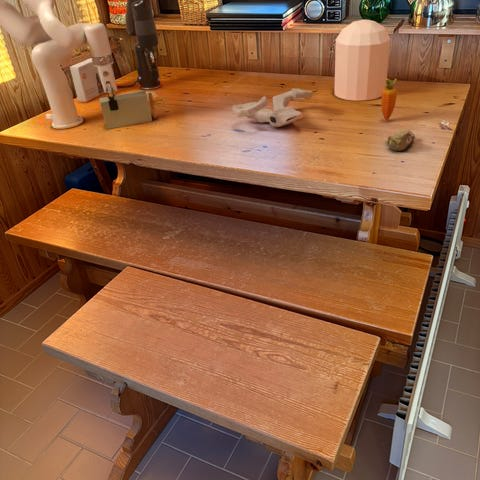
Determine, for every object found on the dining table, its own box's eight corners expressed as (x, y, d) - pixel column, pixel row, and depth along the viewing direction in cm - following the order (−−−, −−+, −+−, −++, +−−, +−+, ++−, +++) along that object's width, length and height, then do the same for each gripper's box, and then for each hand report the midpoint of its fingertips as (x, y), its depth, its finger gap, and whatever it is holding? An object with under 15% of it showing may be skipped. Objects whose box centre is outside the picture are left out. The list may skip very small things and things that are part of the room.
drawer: (167, 111, 191) (164, 90, 186) (169, 115, 188) (166, 93, 183) (113, 121, 187) (108, 99, 182) (114, 125, 183) (108, 103, 178)
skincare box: (87, 102, 214) (77, 67, 204) (78, 102, 215) (68, 66, 206) (113, 88, 229) (105, 54, 220) (104, 88, 231) (96, 54, 222)
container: (354, 104, 182) (359, 27, 166) (324, 91, 198) (325, 20, 182) (396, 93, 189) (404, 18, 173) (363, 81, 205) (368, 12, 189)
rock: (408, 140, 153) (379, 139, 152) (414, 122, 149) (384, 120, 148) (421, 154, 144) (391, 153, 143) (428, 135, 140) (396, 133, 139)
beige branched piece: (230, 133, 167) (227, 101, 161) (244, 110, 188) (241, 81, 182) (308, 133, 161) (308, 99, 155) (313, 109, 182) (314, 78, 176)
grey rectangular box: (150, 116, 191) (145, 90, 185) (152, 121, 186) (147, 94, 180) (105, 124, 188) (99, 98, 182) (106, 129, 183) (99, 102, 177)
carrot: (394, 118, 167) (398, 76, 158) (393, 123, 163) (397, 80, 154) (379, 117, 168) (383, 75, 160) (378, 122, 165) (382, 80, 156)
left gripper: (114, 63, 166) (125, 112, 176) (111, 53, 180) (122, 99, 190) (92, 66, 164) (105, 116, 175) (91, 56, 178) (103, 102, 188)
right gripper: (158, 33, 167) (167, 82, 176) (154, 27, 177) (162, 74, 187) (138, 36, 165) (147, 85, 175) (134, 30, 176) (143, 77, 186)
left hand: (114, 107), depth 182 cm, fingers closed on grey rectangular box, 6 cm apart
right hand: (155, 79), depth 181 cm, fingers closed
